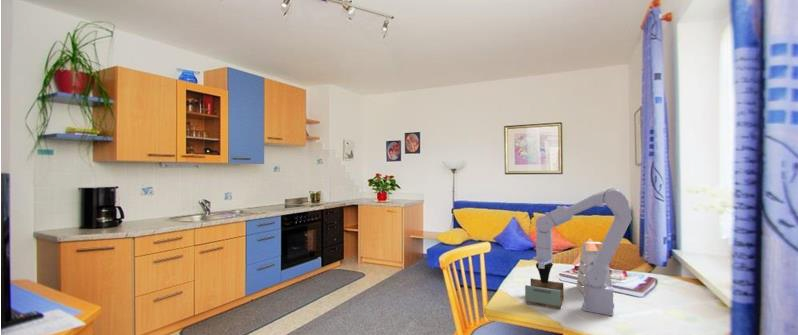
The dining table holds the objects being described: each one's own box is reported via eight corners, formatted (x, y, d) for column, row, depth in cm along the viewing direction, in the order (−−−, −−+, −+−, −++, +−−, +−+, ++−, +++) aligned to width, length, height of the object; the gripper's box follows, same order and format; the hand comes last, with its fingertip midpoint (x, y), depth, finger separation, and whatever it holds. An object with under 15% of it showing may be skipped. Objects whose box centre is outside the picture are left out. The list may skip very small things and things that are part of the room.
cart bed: (563, 299, 140) (563, 282, 140) (560, 309, 131) (560, 291, 131) (531, 294, 146) (531, 278, 146) (526, 303, 137) (525, 286, 137)
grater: (576, 286, 155) (576, 239, 154) (602, 287, 153) (602, 240, 153) (585, 295, 144) (584, 245, 144) (613, 296, 143) (613, 245, 142)
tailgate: (560, 305, 131) (560, 290, 131) (559, 306, 130) (559, 291, 130) (525, 299, 137) (525, 285, 137) (525, 300, 136) (525, 286, 136)
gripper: (536, 242, 147) (536, 275, 147) (529, 250, 134) (530, 286, 134) (555, 244, 143) (555, 278, 143) (550, 252, 130) (550, 289, 131)
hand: (544, 282), depth 139 cm, fingers closed
